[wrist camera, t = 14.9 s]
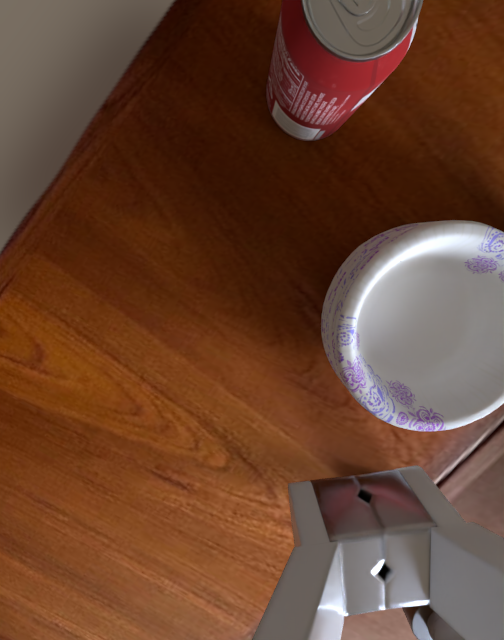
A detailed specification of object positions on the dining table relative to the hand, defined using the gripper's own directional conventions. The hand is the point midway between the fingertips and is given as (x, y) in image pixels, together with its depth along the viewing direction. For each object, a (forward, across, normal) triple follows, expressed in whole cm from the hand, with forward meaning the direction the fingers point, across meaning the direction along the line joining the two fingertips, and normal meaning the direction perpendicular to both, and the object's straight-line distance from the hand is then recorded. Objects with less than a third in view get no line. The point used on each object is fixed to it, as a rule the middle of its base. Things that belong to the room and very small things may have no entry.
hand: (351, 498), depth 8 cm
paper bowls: (+23, -12, +2) cm, 26 cm away
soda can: (+24, -5, -16) cm, 29 cm away
